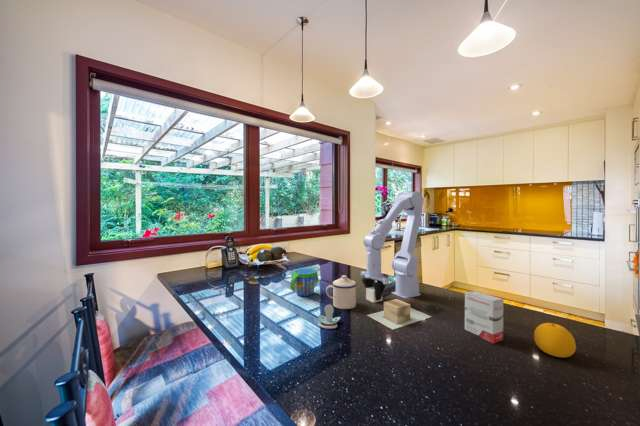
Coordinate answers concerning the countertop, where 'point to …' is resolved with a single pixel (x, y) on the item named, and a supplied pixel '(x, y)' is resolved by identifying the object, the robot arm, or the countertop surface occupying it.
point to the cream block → (371, 295)
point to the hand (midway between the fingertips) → (374, 297)
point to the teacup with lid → (343, 293)
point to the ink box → (484, 316)
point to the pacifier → (328, 318)
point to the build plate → (392, 325)
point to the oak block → (397, 311)
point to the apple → (554, 340)
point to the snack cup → (304, 281)
